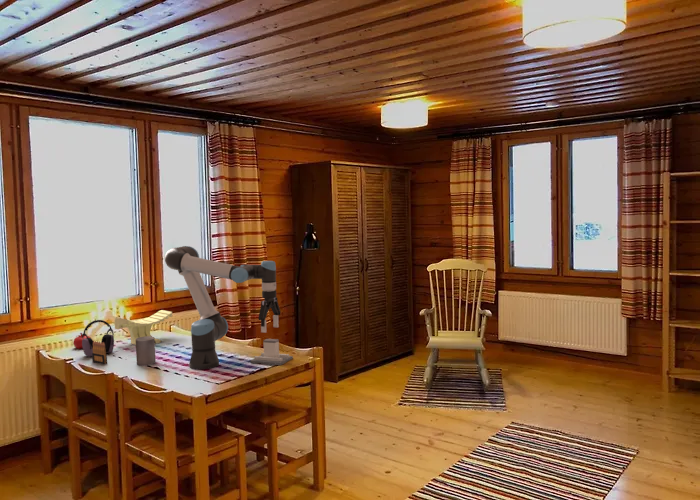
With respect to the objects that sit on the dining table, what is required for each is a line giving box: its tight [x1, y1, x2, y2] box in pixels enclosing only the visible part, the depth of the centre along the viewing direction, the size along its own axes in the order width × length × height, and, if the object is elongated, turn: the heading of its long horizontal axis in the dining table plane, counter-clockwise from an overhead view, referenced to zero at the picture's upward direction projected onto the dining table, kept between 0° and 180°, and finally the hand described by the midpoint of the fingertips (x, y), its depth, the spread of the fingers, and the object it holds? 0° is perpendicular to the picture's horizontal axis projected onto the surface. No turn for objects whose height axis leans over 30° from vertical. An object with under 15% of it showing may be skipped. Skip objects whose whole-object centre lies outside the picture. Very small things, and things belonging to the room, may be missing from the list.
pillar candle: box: [135, 335, 157, 366], centre depth 311 cm, size 10×10×15 cm
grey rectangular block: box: [262, 338, 280, 358], centre depth 310 cm, size 4×7×10 cm, turn 70°
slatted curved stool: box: [114, 309, 173, 346], centre depth 362 cm, size 30×16×18 cm, turn 137°
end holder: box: [250, 352, 294, 366], centre depth 310 cm, size 14×18×3 cm
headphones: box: [82, 319, 115, 358], centre depth 334 cm, size 9×17×20 cm, turn 136°
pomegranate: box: [72, 332, 92, 350], centre depth 353 cm, size 10×10×9 cm
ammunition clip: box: [91, 340, 108, 365], centre depth 315 cm, size 11×2×12 cm, turn 57°
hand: (270, 329), depth 309 cm, fingers open, 13 cm apart
